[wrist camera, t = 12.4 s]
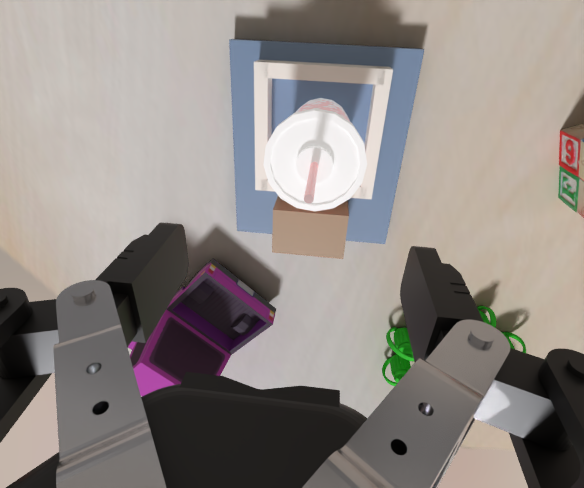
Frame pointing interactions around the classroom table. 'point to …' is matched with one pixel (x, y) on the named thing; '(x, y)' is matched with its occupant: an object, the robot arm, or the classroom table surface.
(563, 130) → the stack of blocks
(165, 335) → the toy truck
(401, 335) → the chandelier
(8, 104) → the classroom table surface
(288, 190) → the beverage cup
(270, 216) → the blue square tray
